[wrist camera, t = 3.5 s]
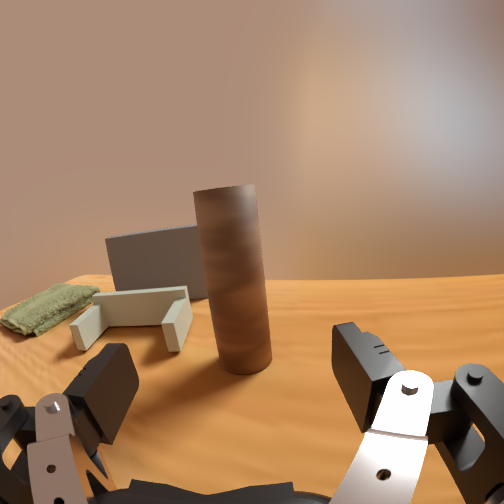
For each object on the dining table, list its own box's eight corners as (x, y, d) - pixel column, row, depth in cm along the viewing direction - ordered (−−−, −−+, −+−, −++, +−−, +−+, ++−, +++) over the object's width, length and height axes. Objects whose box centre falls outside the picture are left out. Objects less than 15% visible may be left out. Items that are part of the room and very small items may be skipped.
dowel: (218, 376, 20) (187, 192, 17) (222, 348, 24) (198, 192, 21) (274, 371, 20) (256, 183, 17) (269, 343, 24) (253, 185, 21)
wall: (119, 304, 38) (105, 238, 35) (125, 298, 40) (112, 236, 38) (208, 297, 38) (197, 225, 36) (210, 291, 40) (200, 223, 38)
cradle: (78, 350, 24) (66, 316, 23) (104, 322, 31) (96, 292, 30) (180, 351, 24) (171, 312, 23) (192, 318, 31) (186, 285, 30)
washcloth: (-2, 330, 28) (-8, 312, 27) (64, 295, 45) (60, 279, 44) (31, 345, 25) (22, 323, 24) (107, 299, 42) (103, 280, 41)
